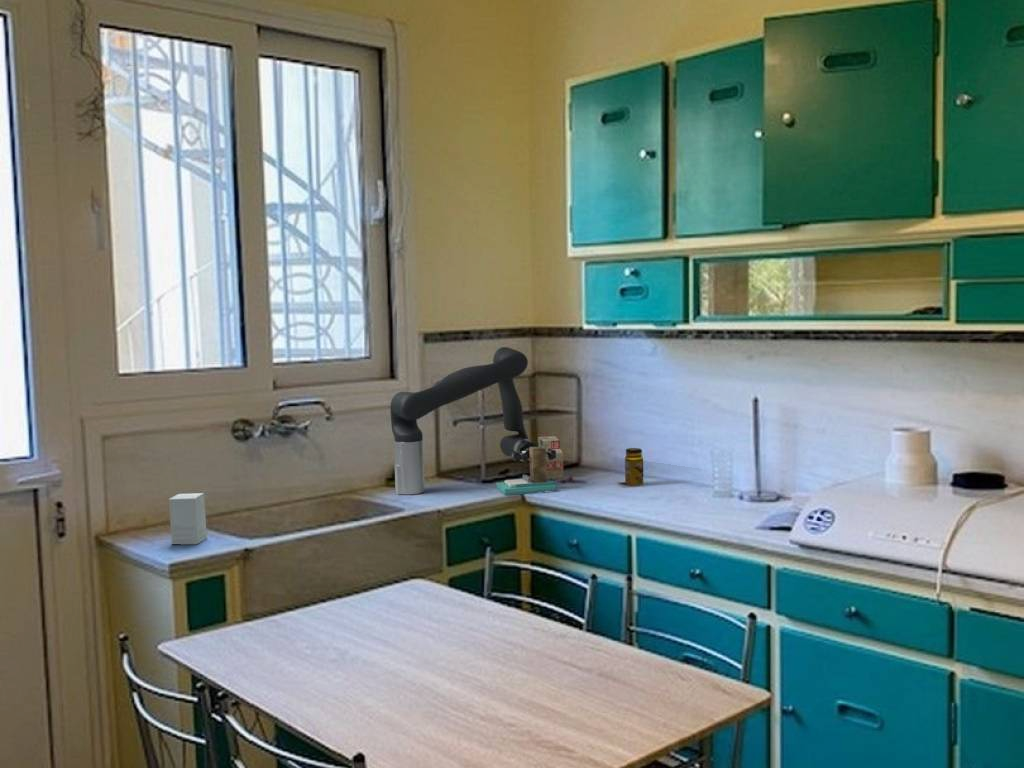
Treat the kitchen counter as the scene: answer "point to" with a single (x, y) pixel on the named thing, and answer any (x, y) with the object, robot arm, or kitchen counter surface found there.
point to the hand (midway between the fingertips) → (539, 457)
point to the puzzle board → (526, 488)
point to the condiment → (633, 468)
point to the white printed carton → (557, 463)
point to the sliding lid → (519, 481)
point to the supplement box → (187, 518)
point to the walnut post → (538, 464)
